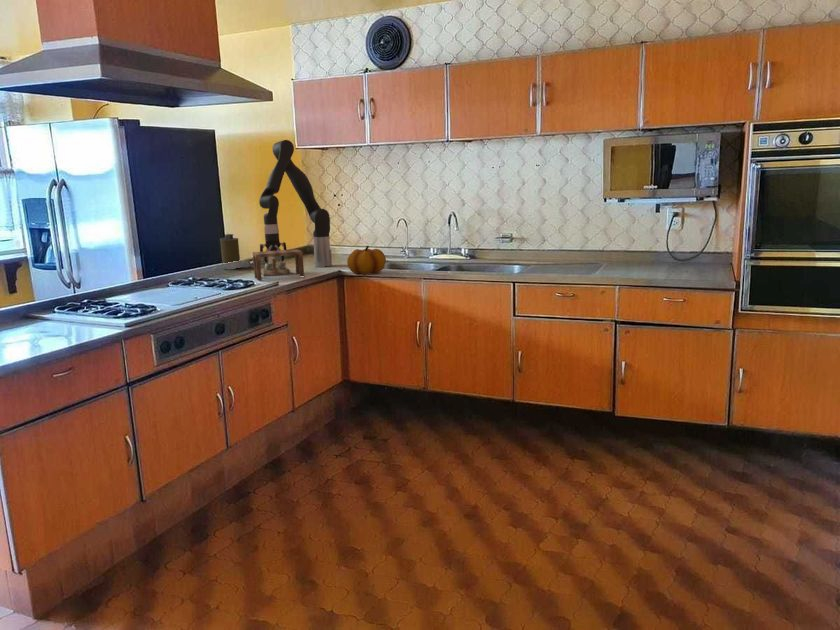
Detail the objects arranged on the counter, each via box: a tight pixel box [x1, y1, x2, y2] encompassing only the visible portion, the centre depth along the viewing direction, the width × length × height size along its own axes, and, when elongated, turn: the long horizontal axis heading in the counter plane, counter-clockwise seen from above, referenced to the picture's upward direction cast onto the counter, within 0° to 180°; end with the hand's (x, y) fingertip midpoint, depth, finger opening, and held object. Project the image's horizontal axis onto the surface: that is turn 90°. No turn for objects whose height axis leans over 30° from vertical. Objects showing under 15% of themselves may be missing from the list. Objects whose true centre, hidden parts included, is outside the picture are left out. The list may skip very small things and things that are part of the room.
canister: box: [219, 233, 241, 265], centre depth 384 cm, size 11×10×20 cm
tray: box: [261, 256, 291, 277], centre depth 365 cm, size 14×23×8 cm, turn 21°
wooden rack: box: [252, 248, 305, 281], centre depth 347 cm, size 24×12×14 cm, turn 111°
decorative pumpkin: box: [346, 245, 387, 276], centre depth 352 cm, size 20×22×15 cm
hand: (274, 262), depth 362 cm, fingers open, 8 cm apart
